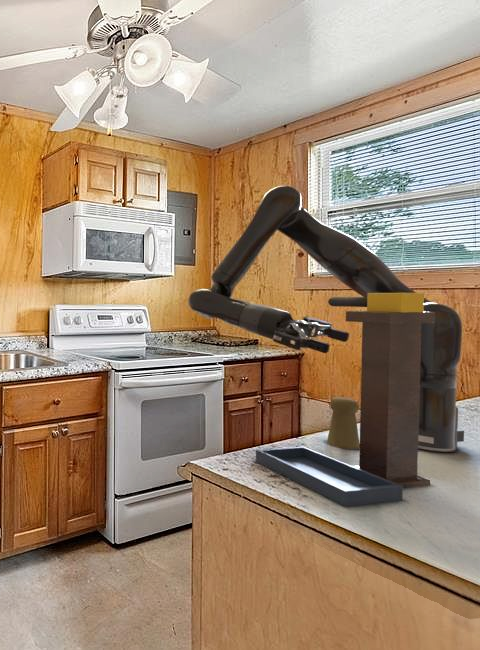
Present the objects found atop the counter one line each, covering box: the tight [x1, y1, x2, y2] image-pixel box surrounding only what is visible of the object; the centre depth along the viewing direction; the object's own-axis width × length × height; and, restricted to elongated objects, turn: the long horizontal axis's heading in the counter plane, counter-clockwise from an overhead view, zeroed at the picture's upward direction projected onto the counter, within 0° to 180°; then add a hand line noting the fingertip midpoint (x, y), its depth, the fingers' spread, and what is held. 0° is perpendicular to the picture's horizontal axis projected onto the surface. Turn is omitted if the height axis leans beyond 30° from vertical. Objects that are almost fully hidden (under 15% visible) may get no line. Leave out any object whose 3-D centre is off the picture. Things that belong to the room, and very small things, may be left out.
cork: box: [326, 396, 360, 450], centre depth 100 cm, size 6×6×11 cm
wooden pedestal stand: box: [345, 310, 435, 489], centre depth 81 cm, size 10×8×32 cm
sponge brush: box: [327, 292, 425, 313], centre depth 84 cm, size 5×16×4 cm, turn 10°
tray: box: [255, 445, 404, 507], centre depth 81 cm, size 12×20×2 cm, turn 10°
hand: (338, 343), depth 94 cm, fingers open, 8 cm apart
